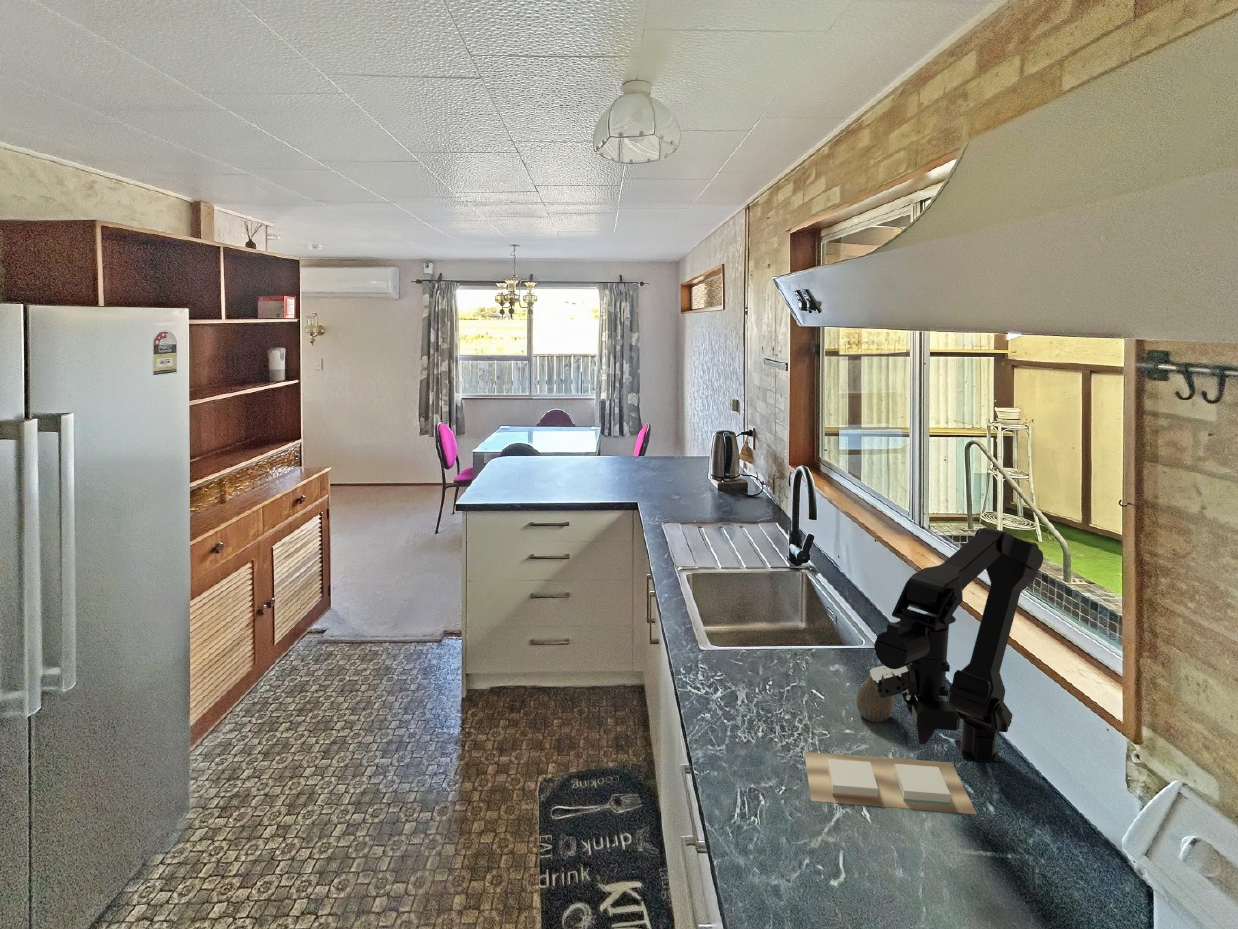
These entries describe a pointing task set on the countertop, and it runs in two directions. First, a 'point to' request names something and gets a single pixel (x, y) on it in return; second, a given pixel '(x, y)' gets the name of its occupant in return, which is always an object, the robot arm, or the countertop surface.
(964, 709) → the robot arm
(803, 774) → the countertop surface
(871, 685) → the vase
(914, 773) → the teal tile
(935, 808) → the cork mat
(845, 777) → the terracotta tile
